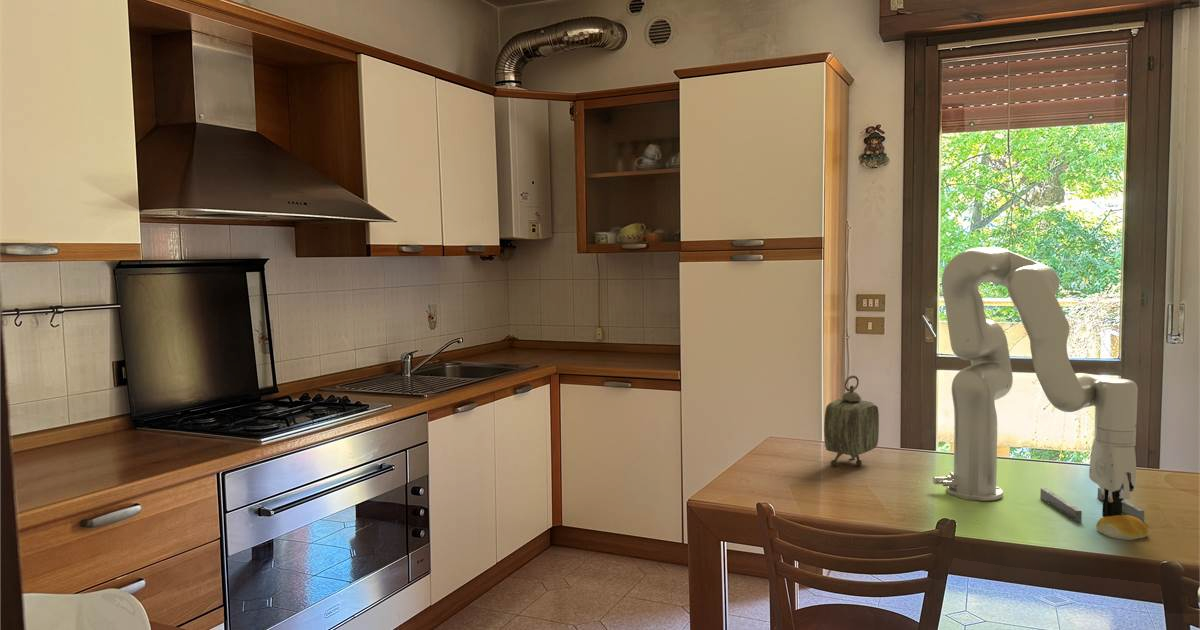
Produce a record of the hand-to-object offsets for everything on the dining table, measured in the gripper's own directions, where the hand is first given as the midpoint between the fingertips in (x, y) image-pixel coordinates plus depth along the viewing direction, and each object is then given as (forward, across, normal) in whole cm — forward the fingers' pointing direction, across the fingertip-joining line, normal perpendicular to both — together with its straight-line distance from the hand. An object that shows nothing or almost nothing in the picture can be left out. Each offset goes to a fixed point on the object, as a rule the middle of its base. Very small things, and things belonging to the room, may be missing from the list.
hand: (1111, 518), depth 175 cm
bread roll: (+2, +6, -1) cm, 6 cm away
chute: (+1, -9, 0) cm, 9 cm away
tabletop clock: (+1, -47, -44) cm, 64 cm away
